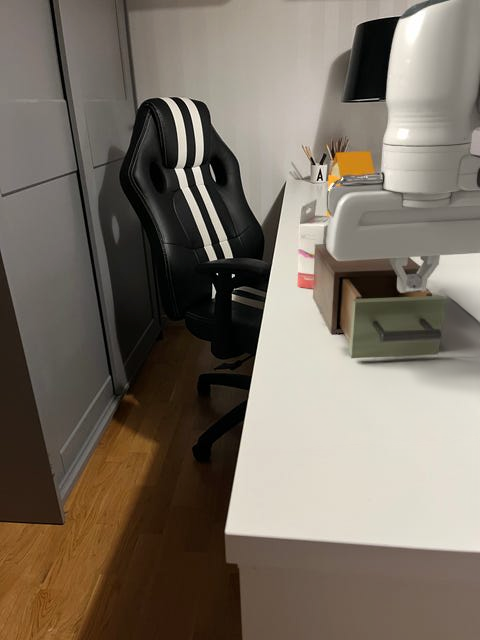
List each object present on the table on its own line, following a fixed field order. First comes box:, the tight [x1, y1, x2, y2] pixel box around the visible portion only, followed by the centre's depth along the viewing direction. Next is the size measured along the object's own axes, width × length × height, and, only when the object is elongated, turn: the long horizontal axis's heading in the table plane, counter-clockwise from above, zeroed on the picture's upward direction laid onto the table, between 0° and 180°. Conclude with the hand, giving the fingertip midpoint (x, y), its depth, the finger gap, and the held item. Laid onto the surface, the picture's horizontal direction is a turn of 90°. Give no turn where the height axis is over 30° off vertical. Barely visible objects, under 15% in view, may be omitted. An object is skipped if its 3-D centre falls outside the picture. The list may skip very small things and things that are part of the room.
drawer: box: [337, 275, 447, 359], centre depth 67 cm, size 18×11×8 cm, turn 3°
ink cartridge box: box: [297, 199, 330, 290], centre depth 91 cm, size 9×5×15 cm, turn 154°
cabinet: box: [312, 244, 421, 335], centre depth 78 cm, size 15×13×10 cm
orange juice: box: [326, 150, 375, 216], centre depth 120 cm, size 8×9×20 cm
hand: (410, 290), depth 60 cm, fingers closed
